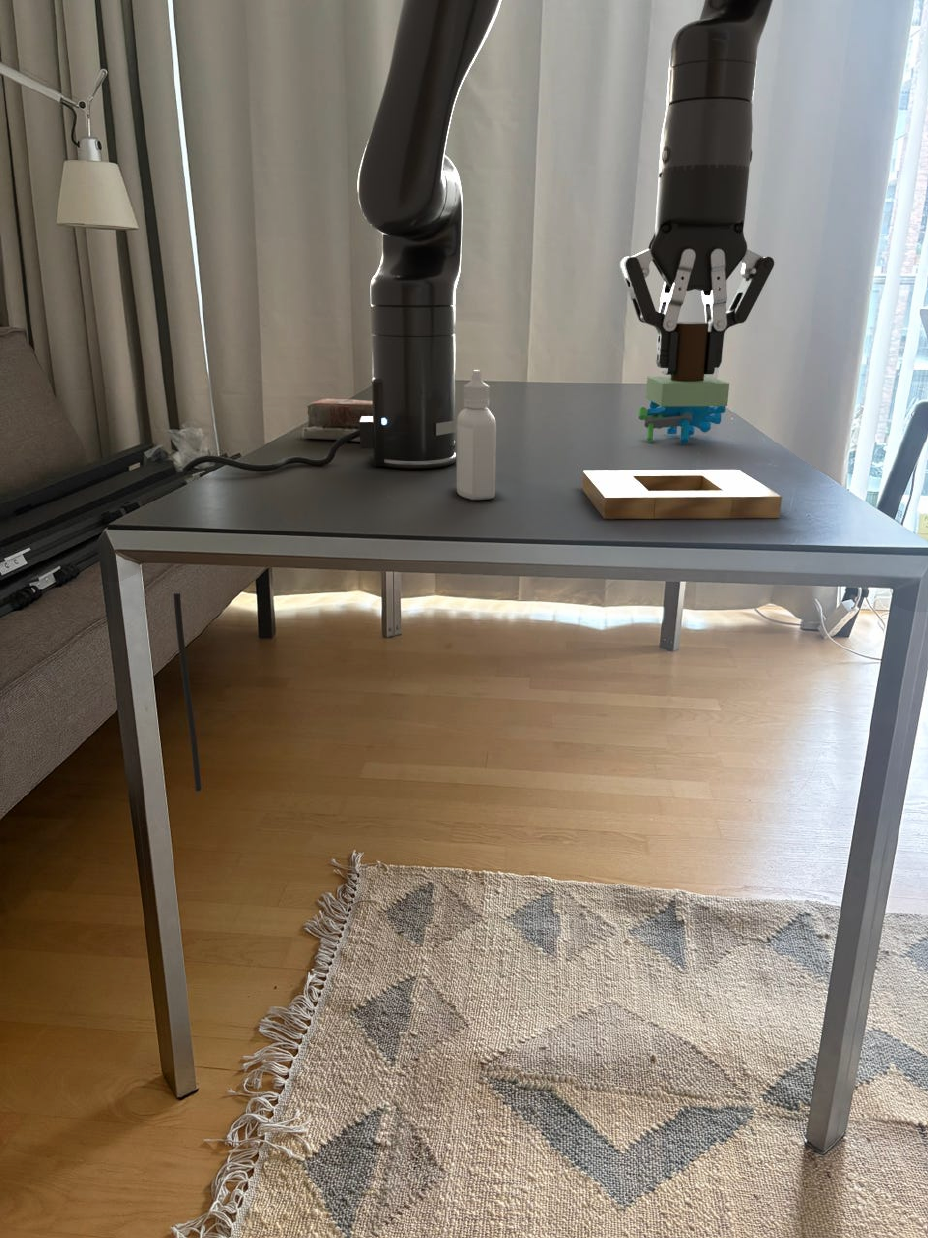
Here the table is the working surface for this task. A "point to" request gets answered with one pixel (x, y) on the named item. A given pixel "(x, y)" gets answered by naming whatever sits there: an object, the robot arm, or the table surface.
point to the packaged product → (335, 418)
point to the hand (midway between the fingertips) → (687, 372)
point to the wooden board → (679, 494)
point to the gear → (680, 419)
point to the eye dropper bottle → (476, 443)
